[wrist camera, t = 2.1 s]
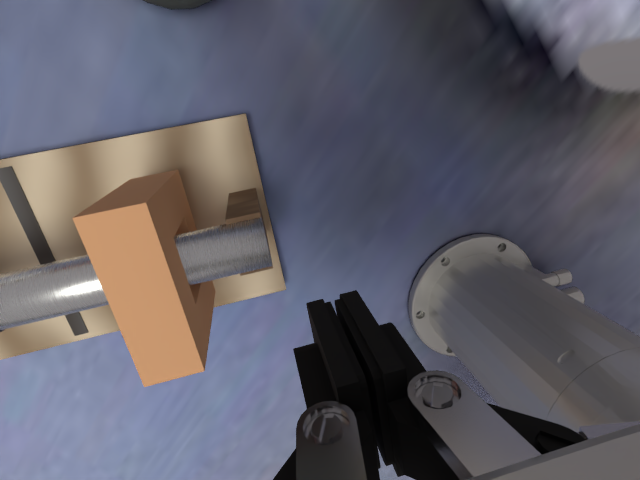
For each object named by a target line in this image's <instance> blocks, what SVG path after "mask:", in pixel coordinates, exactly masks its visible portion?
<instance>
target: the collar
mask: <svg viewBox="0 0 640 480" xmlns="http://www.w3.org/2000/svg"><path fill="white" fill-rule="evenodd" d="M73 221H74V223H75V226H76V228H77V230H78V233H79V235H80V237H81V240H82V242H83V244H84V247H85V249H86V251H87V254H88V256H89V258H90V261H91V263H92V265H93V268H94V270H95V272H96V275H97V277H98V279H99V282H100V284H101V286H102V289H103V291H104V293H105V296H106V298H107V301H108V303H109V305H110V308H111V310H112V312H113V315H114V317H115V319H116V322H117V324H118V326H119V329H120V331H121V333H122V336H123V338H124V340H125V343H126V345H127V347H128V350H129V352H130V354H131V357H132V359H133V361H134V364H135V366H136V368H137V371H138V373H139V375H140V378H141V380H142V383H143V385H144V387H146V386H150V385H154V384H157V383H161V382H165V381H169V380H173V379H176V378H180V377H184V376H188V375H192V374H195V373H199V372H203V371H205V364H206V357H207V350H208V343H209V335H210V328H211V321H212V314H213V307H214V299H215V292H216V291H215V288H214V285H213V281H212V280H211V281H206V282H202V283H198V284H194V285H190V286H189V283H188V280H187V277H186V274H185V271H184V268H183V265H182V262H181V259H180V256H179V253H178V250H177V247H176V244H175V241H174V236H175V235H178V234H182V233H187V232H191V231H196V230H197V229H196V226H195V223H194V219H193V216H192V213H191V209H190V206H189V203H188V200H187V196H186V193H185V190H184V187H183V183H182V180H181V177H180V174H179V170H173V171H168V172H163V173H158V174H153V175H148V176H143V177H138V178H133V179H130V180H128V181H127V182H125V183H124V184H122V185H121V186H119V187H118V188H116V189H115V190H113V191H112V192H110V193H109V194H107V195H106V196H104V197H103V198H101V199H100V200H98V201H97V202H95V203H94V204H92V205H91V206H89V207H88V208H86V209H85V210H83V211H82V212H80V213H79V214H78V215H76V216H75V217H73Z"/></svg>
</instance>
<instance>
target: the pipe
mask: <svg viewBox="0 0 640 480" xmlns="http://www.w3.org/2000/svg"><path fill="white" fill-rule="evenodd" d="M174 241H175V244H176V247H177V250H178V253H179V256H180V259H181V262H182V265H183V268H184V271H185V274H186V277H187V280H188V283H189V286H190V285H194V284H198V283H202V282H206V281H211V280H215V279H219V278H223V277H228V276H232V275H236V274H240V273H244V272H249V271H253V270H257V269H261V268H266V267H270V266H272V261H271V257H270V252H269V247H268V243H267V238H266V234H265V230H264V226H263V222H262V218H261V217H259V218H255V219H250V220H246V221H241V222H237V223H232V224H228V225H226V224H223V225H219V226H214V227H210V228H205V229H200V230H196V231H191V232H187V233H182V234H178V235H175V236H174ZM105 305H109V303H108V301H107V298H106V296H105V293H104V291H103V289H102V286H101V284H100V282H99V279H98V277H97V275H96V272H95V270H94V268H93V265H92V263H91V261H90V258H89V256H88V254H87V255H83V256H78V257H73V258H69V259H64V260H60V261H55V262H51V263H46V264H42V265H37V266H33V267H28V268H24V269H19V270H14V271H10V272H5V273H1V274H0V332H2V331H4V330H5V329H8V328H12V327H16V326H21V325H25V324H29V323H33V322H38V321H42V320H46V319H50V318H54V317H59V316H63V315H67V314H71V313H76V312H80V311H84V310H88V309H92V308H97V307H101V306H105Z"/></svg>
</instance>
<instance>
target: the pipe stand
mask: <svg viewBox="0 0 640 480" xmlns="http://www.w3.org/2000/svg"><path fill="white" fill-rule="evenodd" d="M173 170H179V174H180V177H181V180H182V183H183V187H184V190H185V193H186V196H187V200H188V203H189V206H190V209H191V213H192V216H193V219H194V223H195V226H196V229H197V230H200V229H205V228H210V227H214V226H219V225H223V224H226V225H228V224H232V223H237V222H241V221H246V220H250V219H255V218H259V217H261V218H262V222H263V226H264V230H265V234H266V238H267V243H268V247H269V252H270V257H271V261H272V266H270V267H266V268H261V269H257V270H253V271H249V272H244V273H240V274H236V275H232V276H228V277H223V278H219V279H215V280H212V281H213V285H214V288H215V291H216V292H215V299H214V307H217V306H221V305H225V304H229V303H233V302H237V301H242V300H246V299H250V298H254V297H258V296H262V295H266V294H270V293H274V292H278V291H282V290H286V287H285V282H284V278H283V274H282V269H281V265H280V261H279V256H278V252H277V248H276V243H275V239H274V235H273V230H272V226H271V222H270V217H269V213H268V209H267V204H266V200H265V196H264V191H263V187H262V183H261V178H260V174H259V170H258V165H257V161H256V157H255V152H254V148H253V144H252V139H251V135H250V131H249V126H248V122H247V118H246V114H239V115H234V116H229V117H223V118H218V119H213V120H207V121H202V122H197V123H191V124H186V125H181V126H175V127H170V128H165V129H159V130H154V131H149V132H143V133H138V134H133V135H127V136H122V137H117V138H111V139H106V140H101V141H95V142H90V143H85V144H79V145H74V146H69V147H63V148H58V149H53V150H47V151H42V152H37V153H31V154H26V155H21V156H15V157H10V158H5V159H0V274H1V273H5V272H10V271H14V270H19V269H24V268H28V267H33V266H37V265H42V264H46V263H51V262H55V261H60V260H64V259H69V258H73V257H78V256H83V255H87V251H86V249H85V247H84V244H83V242H82V240H81V237H80V235H79V233H78V230H77V228H76V226H75V223H74V221H73V217H75V216H76V215H78V214H79V213H80V212H82V211H83V210H85V209H86V208H88V207H89V206H91V205H92V204H94V203H95V202H97V201H98V200H100V199H101V198H103V197H104V196H106V195H107V194H109V193H110V192H112V191H113V190H115V189H116V188H118V187H119V186H121V185H122V184H124V183H125V182H127V181H128V180H130V179H133V178H138V177H143V176H148V175H153V174H158V173H163V172H168V171H173ZM119 330H120V329H119V326H118V324H117V322H116V319H115V317H114V315H113V312H112V310H111V308H110V305H105V306H101V307H97V308H92V309H88V310H84V311H80V312H76V313H71V314H67V315H63V316H59V317H54V318H50V319H46V320H42V321H38V322H33V323H29V324H25V325H21V326H16V327H12V328H8V329H5V330H4V331H2V332H0V360H1V359H5V358H9V357H13V356H17V355H21V354H26V353H30V352H34V351H38V350H42V349H46V348H50V347H54V346H58V345H62V344H66V343H70V342H74V341H79V340H83V339H87V338H91V337H95V336H99V335H103V334H107V333H111V332H115V331H119Z"/></svg>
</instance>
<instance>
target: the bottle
mask: <svg viewBox="0 0 640 480" xmlns="http://www.w3.org/2000/svg"><path fill="white" fill-rule="evenodd" d="M143 1H145V2H147V3H150V4H154V5H158V6H161V7H165V8H169V9H187V8H196V7H198V6H200V5H202V4H205V3H207V2H209V1H212V0H143Z"/></svg>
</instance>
